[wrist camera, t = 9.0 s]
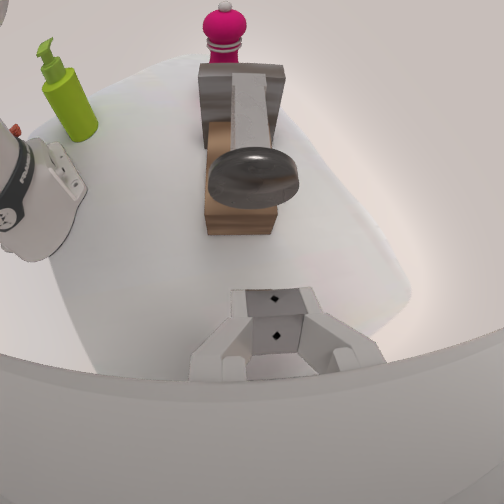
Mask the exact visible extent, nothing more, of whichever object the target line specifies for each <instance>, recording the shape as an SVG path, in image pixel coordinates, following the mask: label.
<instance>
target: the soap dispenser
mask: <svg viewBox="0 0 504 504" xmlns="http://www.w3.org/2000/svg"><path fill="white" fill-rule="evenodd" d="M52 40H53V37H52V38H50V39H49V40H47V41H45V42H43V43H41V44H40V46H39V48H38V51H37V54H36V55H37V57H40V56H41V58H42V61H43V63H44V64H43V66H42V67H41V71H42V74H43V76H44V77H45V79H46V82H45V83H44V85H43V87H42V91H43V92H44V95H45V96H46V98H47V100H48V102H49V103H50V105H51V107H52V109H53V110H54V112H55V114H56V115H57V117H58V119H59V120H60V122H61V124H62V125H63V127H64V129H65V130H66V132H67V133H68V135H69V137H70V138H71V140H72V141H74V142H81V141H84V140H86V139H88V138H89V137H91V136H92V135H93V134H94V133H95V131H96V130H97V128H98V121H97V119H96V117H95V115H94V113H93V110H92V108H91V106H90V104H89V102H88V100H87V98H86V95H85V93H84V91H83V89H82V87H81V84H80V82H79V80H78V78H77V75H76V73H75V71H74V69H73V68H64V66H63V63H62V61H61V59H60V57H53V55H52V52H51V50H50V45H51V42H52Z"/></svg>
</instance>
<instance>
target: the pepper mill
mask: <svg viewBox="0 0 504 504" xmlns="http://www.w3.org/2000/svg"><path fill="white" fill-rule="evenodd" d="M218 8H219V10H215V11H213V12H211V13H210V14H208V15H207V16H206V18H205V20H204V22H203V32H204V33H205V35H206V36H207V37H208V38H207V47H208V49H209V50H210V52H211V56H210V62H209V63H239V62H238V49H239V48H240V47H241V45H242V43H241V41H242V38H241V36H242V35H243V34H244V33H245V30H246V20H245V18H244V16H243V15H242V14H241V13H240V12H238V11H236V10H232V9H231V8H232V5H231V3H230V2H228V1H223V2H221V3H220V4H219V7H218Z"/></svg>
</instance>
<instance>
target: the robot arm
mask: <svg viewBox="0 0 504 504" xmlns="http://www.w3.org/2000/svg"><path fill="white" fill-rule="evenodd" d="M8 2H9V0H0V26H1V25H2V23H3V21H4V18H5V15H6V12H7V7H8ZM20 135H21V130H20V127H19V126H18V125H17V124H15V125H13V127H12V128H11V129H8V128H7V127H6V125H5V124H4V123H3V122H2V120H1V119H0V243H1V248H2V249H3V250H5V251H6V252H9V253H15V254H16V255H17V256H18V257H20V258H21V259H22V260H24V261H27V262H37V261H40V260H43V259H45V258H47V257H48V256H50V255H51V254H52V253H53V252H55V251H56V250H57V248H58V247H59V246H60V245H61V244H62V242H63V241H64V240H65V238H66V236H67V235H68V233H69V231H70V229H71V226H72V224H73V221H74V217H75V213H76V210H77V207H78V205H79V204H80V202H81V201H82V199H83V198H84V196H85V194H86V192H87V187H86V185H85V183H84V182H83V180H82V178H81V177H80V175H79V173H78V172H77V170H76V168H75V167H74V165H73V163H72V162H71V160H70V158H69V157H68V155H67V153H66V151H65V150H64V148H63V146H62V145H61V144H60V143H59V142H53V143H50V144H47V145H46V144H45V143H44V142H43V140H42V139H40V138H34V139H31V140H28V141H26V142H25V141H24V140H23V141H22V140H21V139H19V138H18V137H19V136H20ZM280 353H298V354H299V355H300V356H301V357H302V358H303V359H304V360H305V361H306V362H307V363H308V364H309V365H310V366H311V367H312V368H313V369H314V370H315V371H316V372H317V373H319V375H311V376H303V377H293V378H282V379H269V380H253V381H247V375H246V365H247V363H248V362H249V360H250V359H251V357H252V356H253V355H266V354H280ZM0 504H504V328H502V329H499V330H497V331H494V332H492V333H489V334H486V335H483V336H481V337H478V338H475V339H472V340H470V341H466V342H463V343H460V344H457V345H454V346H451V347H447V348H444V349H441V350H437V351H434V352H430V353H427V354H423V355H419V356H416V357H411V358H407V359H403V360H399V361H394V362H390V363H387V362H386V360H385V359H384V357H383V355H382V353H381V351H380V350H379V348H378V346H377V344H376V342H374V341H372V340H371V339H369V338H368V337H366V336H364V335H363V334H361V333H359V332H358V331H356V330H355V329H353V328H351V327H350V326H348V325H346V324H345V323H343V322H341V321H340V320H338V319H336V318H335V317H333V316H331V315H330V314H328V313H323V311H322V309H321V307H320V304H319V302H318V300H317V298H316V296H315V294H314V291H313V289H312V288H311V287H304V288H294V289H276V290H272V289H265V290H231V318H227V319H226V320H225V321H224V322H223V323H222V324H221V325H220V326H219V327H218V328H217V329H216V330H215V331H214V332H213V334H212V335H211V336H210V337H209V338H208V339H207V340H206V341H205V342H204V343H203V344H202V345H201V346H200V347H199V348H198V349H197V350H196V351H195V352H194V353H193V354H192V355H191V359H190V368H189V378H188V381H164V380H148V379H136V378H125V377H116V376H107V375H100V374H93V373H86V372H79V371H73V370H67V369H63V368H57V367H52V366H48V365H43V364H39V363H34V362H30V361H26V360H22V359H18V358H14V357H11V356H7V355H4V354H0Z"/></svg>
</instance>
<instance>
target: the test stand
mask: <svg viewBox="0 0 504 504" xmlns="http://www.w3.org/2000/svg"><path fill="white" fill-rule="evenodd" d="M232 73H256V74H265V75H266V83H267V89H266V95H265V99H266V108H267V117H268V127H269V137H270V147H271V146H272V141H273V136H274V131H275V127H276V122H277V117H278V112H279V108H280V103H281V98H282V93H283V89H284V84H285V79H286V78H285V74H284V68H283V65H275V64H257V63H202V64H200V68H199V74H198V83H199V95H200V107H201V118H202V128H203V138H204V148H205V149H207V166H206V186H205V212H204V216H205V221H206V226H207V231H208V235H262V234H271V231H272V229H273V226H274V223H275V220H276V218H277V215H278V213H277V205H276V206H273V207H269V208H263V209H238V208H233V207H229V206H225V205H223V204H221V203H219V202H217V201H215V200H214V199H213V198H212V197H211V196H210V194H209V192H208V173H209V168H210V166H211V164H212V163H213V161H215V160H216V159H217V158H218V157H219V156H221V155H223V154H225V153H227V152H229V151H230V145H231V102H232ZM271 149H272V147H271Z"/></svg>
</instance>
